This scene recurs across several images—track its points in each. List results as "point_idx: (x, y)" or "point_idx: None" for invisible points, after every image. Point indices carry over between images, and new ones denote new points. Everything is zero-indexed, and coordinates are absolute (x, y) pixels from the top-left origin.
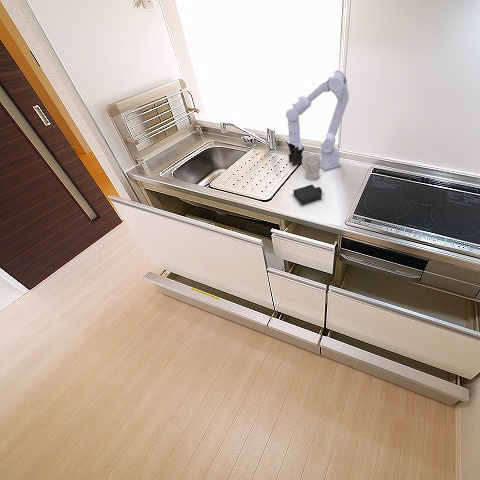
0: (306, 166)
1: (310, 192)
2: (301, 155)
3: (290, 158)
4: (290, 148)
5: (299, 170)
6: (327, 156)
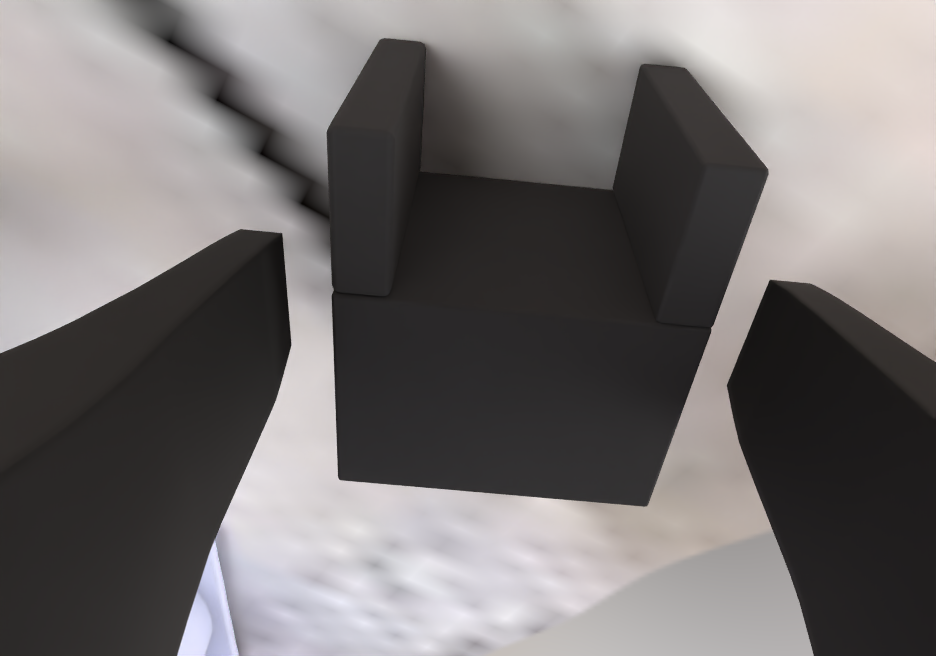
0: None
1: None
2: (373, 469)
3: (655, 141)
4: (892, 435)
5: (34, 64)
6: None
